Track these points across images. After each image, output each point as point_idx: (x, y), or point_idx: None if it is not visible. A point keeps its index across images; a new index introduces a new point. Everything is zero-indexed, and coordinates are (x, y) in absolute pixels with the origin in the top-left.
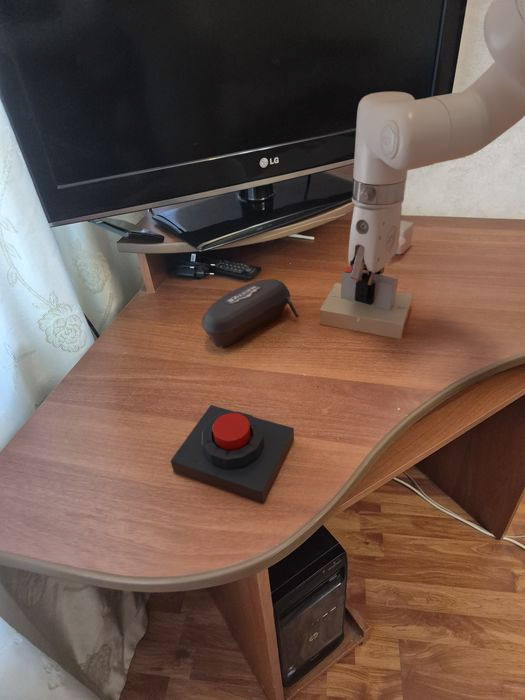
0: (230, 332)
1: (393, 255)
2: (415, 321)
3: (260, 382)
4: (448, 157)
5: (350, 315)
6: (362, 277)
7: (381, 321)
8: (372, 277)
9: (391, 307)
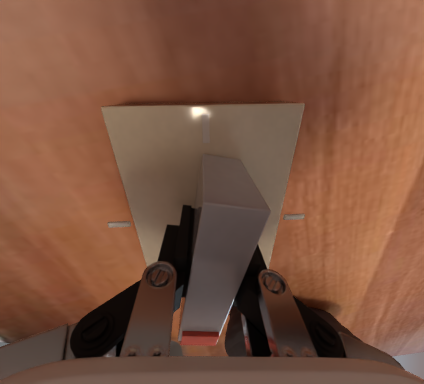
0: (359, 339)
1: (121, 381)
2: (184, 76)
3: (399, 266)
4: None
5: (275, 233)
6: (345, 346)
7: (290, 167)
8: (283, 304)
9: (228, 159)
